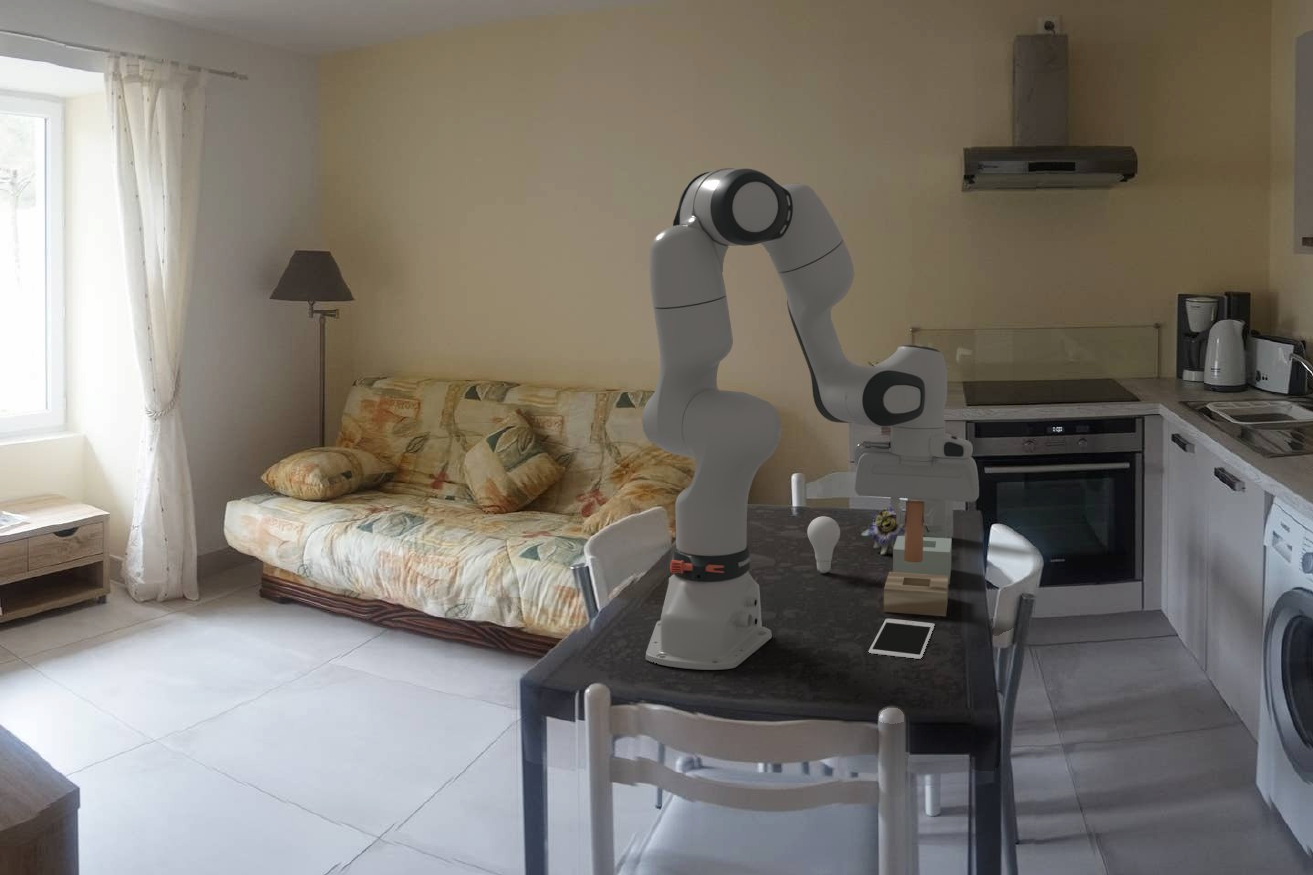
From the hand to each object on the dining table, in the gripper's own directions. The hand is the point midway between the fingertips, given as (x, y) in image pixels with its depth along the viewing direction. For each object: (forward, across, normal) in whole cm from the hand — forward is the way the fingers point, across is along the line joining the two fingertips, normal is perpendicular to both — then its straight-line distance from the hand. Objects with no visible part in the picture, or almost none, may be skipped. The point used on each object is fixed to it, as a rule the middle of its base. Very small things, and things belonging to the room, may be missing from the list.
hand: (914, 524), depth 166 cm
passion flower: (+14, -5, +35) cm, 38 cm away
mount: (+14, +1, +1) cm, 14 cm away
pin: (+6, 0, 0) cm, 6 cm away
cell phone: (+15, 0, -16) cm, 22 cm away
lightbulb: (+14, -17, +16) cm, 27 cm away
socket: (+14, +1, +19) cm, 23 cm away
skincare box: (+13, +1, +46) cm, 48 cm away
